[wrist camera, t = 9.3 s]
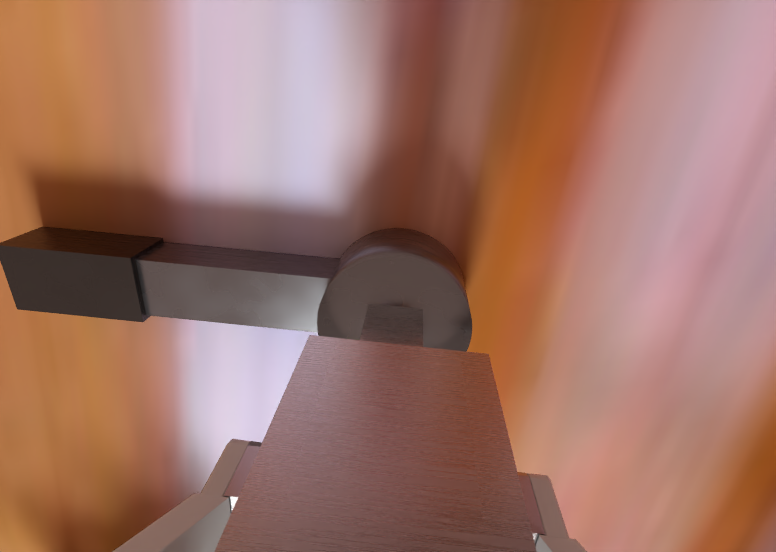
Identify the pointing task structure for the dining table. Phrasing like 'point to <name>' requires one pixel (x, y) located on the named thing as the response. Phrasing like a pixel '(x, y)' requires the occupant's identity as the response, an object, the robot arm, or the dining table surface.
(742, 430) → the dining table surface
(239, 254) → the ratchet
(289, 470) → the cube with grey knob
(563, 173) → the dining table surface
